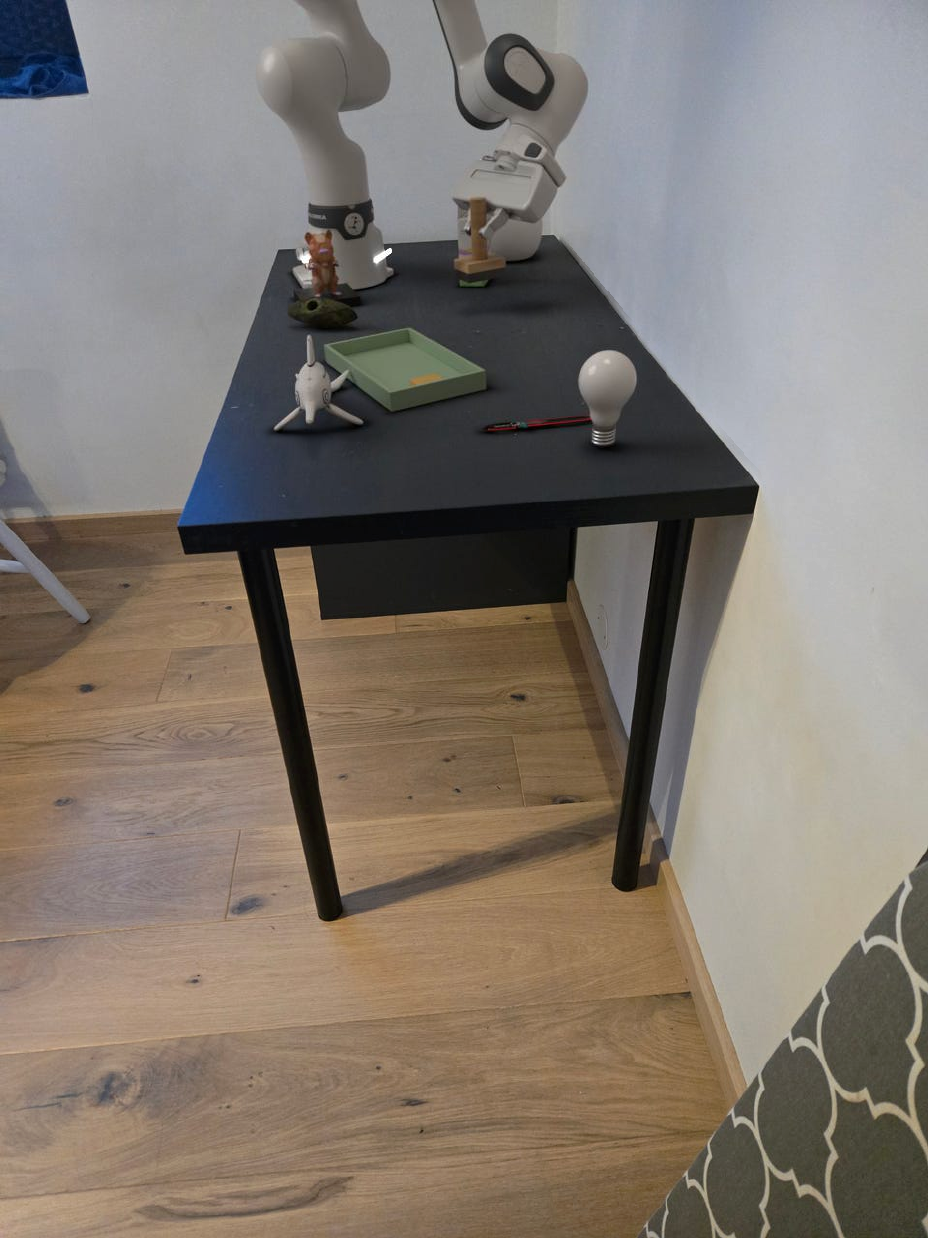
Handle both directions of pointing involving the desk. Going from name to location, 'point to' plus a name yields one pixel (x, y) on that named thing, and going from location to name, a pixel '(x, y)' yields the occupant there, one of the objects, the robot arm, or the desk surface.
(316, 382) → the dolphin figurine
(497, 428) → the pen
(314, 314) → the decorative stone
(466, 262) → the wooden peg on base
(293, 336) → the desk surface
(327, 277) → the figurine
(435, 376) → the orange block
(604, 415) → the lightbulb
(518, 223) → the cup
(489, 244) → the ink box
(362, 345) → the tray
